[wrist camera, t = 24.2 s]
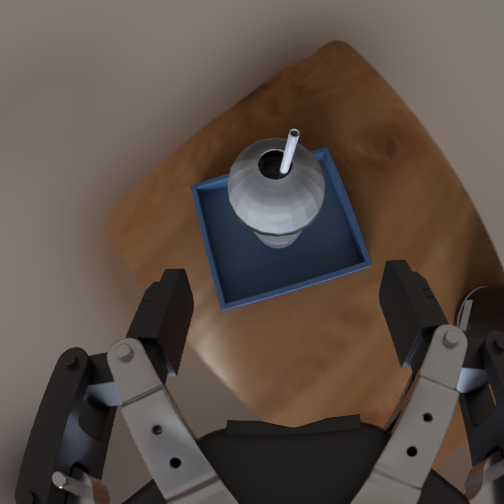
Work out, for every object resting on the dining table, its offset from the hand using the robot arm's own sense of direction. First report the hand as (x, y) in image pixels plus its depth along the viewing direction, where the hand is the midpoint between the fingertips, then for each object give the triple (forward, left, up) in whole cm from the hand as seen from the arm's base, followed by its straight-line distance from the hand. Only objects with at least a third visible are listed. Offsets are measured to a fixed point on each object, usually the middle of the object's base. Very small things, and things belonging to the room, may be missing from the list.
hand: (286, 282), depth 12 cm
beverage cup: (-2, -7, -20) cm, 22 cm away
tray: (-2, -7, -21) cm, 22 cm away
